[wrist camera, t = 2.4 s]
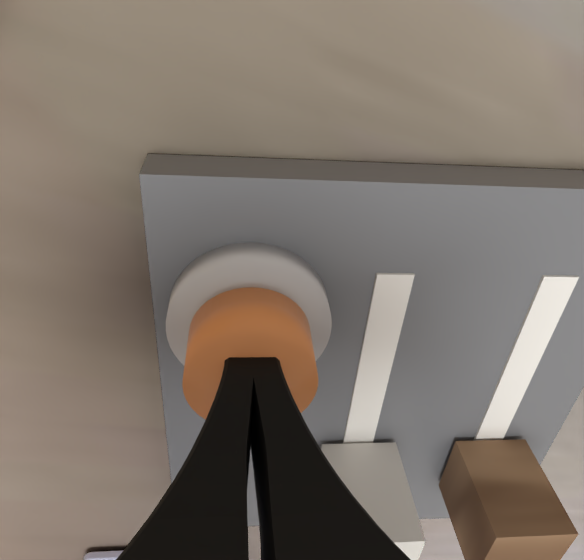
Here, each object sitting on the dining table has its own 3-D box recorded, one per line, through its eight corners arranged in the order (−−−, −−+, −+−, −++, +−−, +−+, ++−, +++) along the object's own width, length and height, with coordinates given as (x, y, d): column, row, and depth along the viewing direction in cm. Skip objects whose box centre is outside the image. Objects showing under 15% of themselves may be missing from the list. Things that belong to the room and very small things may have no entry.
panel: (499, 487, 26) (521, 535, 24) (179, 498, 24) (173, 551, 22) (657, 173, 16) (718, 207, 14) (147, 153, 15) (132, 190, 12)
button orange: (305, 379, 16) (311, 429, 15) (191, 380, 16) (185, 431, 14) (315, 287, 14) (325, 334, 13) (186, 286, 14) (178, 334, 12)
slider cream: (382, 487, 22) (407, 584, 19) (314, 489, 22) (327, 589, 18) (395, 442, 20) (425, 540, 17) (321, 443, 20) (338, 544, 17)
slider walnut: (503, 482, 23) (547, 576, 19) (438, 484, 22) (472, 580, 19) (525, 439, 21) (578, 534, 18) (455, 441, 21) (496, 537, 17)
